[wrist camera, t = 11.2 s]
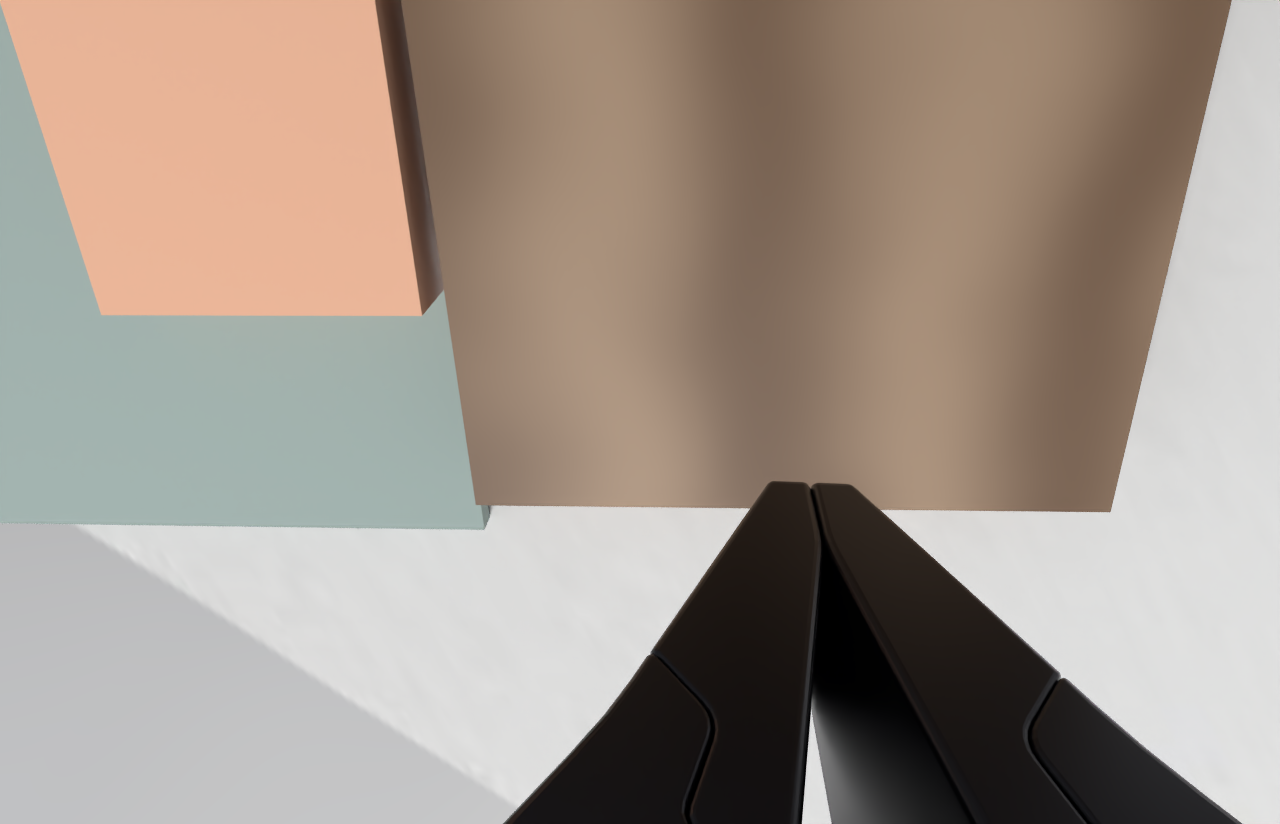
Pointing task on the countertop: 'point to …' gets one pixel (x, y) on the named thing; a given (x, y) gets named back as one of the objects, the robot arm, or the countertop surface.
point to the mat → (206, 392)
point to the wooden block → (806, 241)
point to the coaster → (236, 153)
